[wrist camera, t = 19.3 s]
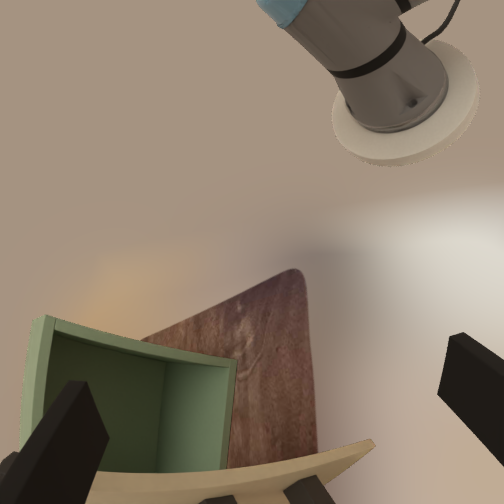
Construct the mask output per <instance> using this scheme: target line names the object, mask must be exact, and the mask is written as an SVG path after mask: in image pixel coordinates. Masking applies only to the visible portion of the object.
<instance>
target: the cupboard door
mask: <svg viewBox="0 0 504 504" xmlns="http://www.w3.org/2000/svg"><path fill="white" fill-rule="evenodd" d="M374 447H375V444H374V443H373V441H372V440H371V439H367V440H364V441H361V442H357V443H355V444H351V445H347V446H344V447H340V448H337V449H333V450H329V451H325V452H321V453H317V454H313V455H308V456H304V457H299V458H295V459H290V460H285V461H279V462H274V463H268V464H262V465H256V466H249V467H241V468H233V469H224V470H214V471H202V472H186V473H118V472H102V471H97V473H96V475H95V478H94V481H93V483H92V486H91V489H90V491H89V494H88V497H87V500H86V503H85V504H335V502H334V501H333V499H332V498H331V496H330V495H329V493H328V492H327V490H326V489H325V487H324V485H325V484H326V483H328V482H329V481H331V480H332V479H333V478H335V477H336V476H338V475H339V474H341V473H342V472H343V471H345V470H346V469H347V468H349V467H350V466H351V465H352V464H354V463H355V462H357V461H358V460H359V459H360V458H362V457H363V456H364V455H366V454H367V453H368V452H369V451H370V450H372V449H373V448H374Z"/></svg>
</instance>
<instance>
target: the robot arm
mask: <svg viewBox="0 0 504 504" xmlns="http://www.w3.org/2000/svg"><path fill="white" fill-rule="evenodd" d="M426 1H428V0H256V2H257V4H258V5H259V7H260V8H261V9H262V10H263V11H264V12H266V13H267V14H268V15H269V16H270V17H271V18H272V19H273V20H274V21H275V22H276V24H277V26H278V27H280V28H282V29H284V30H285V31H286V32H288V33H289V34H290V35H291V36H292V37H293V38H294V39H295V40H297V41H298V42H299V43H300V44H301V45H302V46H303V47H304V48H305V49H306V50H307V51H308V52H309V53H310V54H312V55H313V56H314V57H315V58H316V59H317V60H318V61H319V62H320V63H321V64H322V65H323V66H324V67H325V68H326V69H327V70H328V71H329V72H330V73H331V74H332V75H333V76H334V78H335V80H336V82H337V84H338V87H339V89H340V91H341V93H342V95H343V96H344V98H345V102H344V104H345V103H346V104H345V107H346V109H347V111H348V112H349V114H350V116H351V115H352V116H353V117H354V118H355V120H356V121H357V122H358V123H359V124H360V125H361V126H362V127H364V128H365V129H367V130H369V131H372V132H376V133H396V132H401V131H405V130H408V129H410V128H413V127H415V126H417V125H419V124H421V123H422V122H424V121H425V120H427V119H428V118H429V117H431V116H432V115H433V114H434V113H435V112H436V111H437V110H438V109H439V107H440V106H441V105H442V103H443V101H444V100H445V98H446V95H447V92H448V87H449V79H448V74H447V72H446V70H445V68H444V66H443V64H442V62H441V61H440V59H439V58H438V57H437V56H436V54H435V53H434V52H432V51H431V50H430V49H428V48H427V47H426V46H425V44H426V43H428V42H429V41H430V40H432V39H433V38H434V37H436V36H438V35H439V34H440V33H442V31H443V30H444V29H445V28H446V27H447V25H448V24H449V22H450V21H451V19H452V17H453V15H454V13H455V11H456V9H457V7H458V4H459V2H460V0H455V2H454V4H453V6H452V8H451V10H450V12H449V14H448V16H447V18H446V20H445V21H444V22H443V24H442V25H441V26H440V27H439V29H437V30H436V31H435V32H433V33H432V34H430V35H428V36H427V37H426V38H424V39H423V40H422V41H420V40H418V39H417V38H416V37H415V36H414V35H413V34H411V33H410V32H409V31H408V30H407V29H406V28H405V26H404V25H403V24H402V22H401V21H400V19H399V18H398V16H400V15H401V14H403V13H405V12H406V11H408V10H410V9H412V8H414V7H416V6H417V5H420V4H421V3H424V2H426ZM437 395H438V396H439V397H440V398H441V399H442V400H443V401H444V402H445V403H446V404H447V405H448V406H449V407H450V408H451V409H452V410H453V412H454V413H455V414H456V415H457V416H458V417H459V418H460V419H461V420H462V421H463V422H464V423H465V424H466V426H467V427H468V428H469V429H470V430H471V431H472V432H473V433H474V434H475V435H476V436H477V438H479V440H480V441H481V442H482V443H483V444H484V445H485V446H486V447H487V449H488V450H489V451H490V452H491V453H492V454H493V455H494V456H495V457H496V459H497V460H498V461H499V462H500V463H501V464H502V465H503V466H504V360H503V359H502V358H500V357H499V356H497V355H496V354H495V353H493V352H492V351H490V350H489V349H487V348H486V347H484V346H483V345H482V344H480V343H479V342H477V341H476V340H474V339H473V338H471V337H470V336H468V335H467V334H466V333H464V332H462V333H459V334H456V335H452V336H450V337H449V341H448V347H447V353H446V358H445V362H444V368H443V372H442V376H441V381H440V385H439V389H438V393H437ZM109 439H110V437H109V435H108V433H107V430H106V428H105V426H104V423H103V421H102V419H101V416H100V414H99V412H98V409H97V407H96V404H95V402H94V399H93V396H92V394H91V391H90V388H89V386H88V383H87V381H76V380H69V381H68V382H67V383H66V385H65V386H64V388H63V389H62V390H61V392H60V393H59V395H58V396H57V397H56V399H55V400H54V402H53V403H52V405H51V406H50V407H49V409H48V410H47V412H46V413H45V415H44V416H43V418H42V419H41V420H40V422H39V423H38V425H37V426H36V428H35V429H34V431H33V432H32V434H31V435H30V437H29V438H28V440H27V441H26V443H25V444H24V446H23V448H22V449H21V451H20V452H19V453H18V452H13V453H11V454H10V455H9V456H7V457H6V458H5V459H4V460H3V461H2V462H1V464H0V504H85V503H86V500H87V497H88V494H89V491H90V489H91V486H92V483H93V481H94V478H95V475H96V473H97V470H98V467H99V465H100V462H101V459H102V457H103V454H104V452H105V449H106V447H107V444H108V442H109Z"/></svg>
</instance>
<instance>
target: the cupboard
mask: <svg viewBox="0 0 504 504" xmlns="http://www.w3.org/2000/svg"><path fill="white" fill-rule="evenodd" d="M236 369H237V360H235V359H228V358H222V357H217V356H211V355H205V354H200V353H195V352H189V351H184V350H179V349H175V348H170V347H165V346H160V345H156V344H151V343H147V342H143V341H139V340H134V339H130V338H126V337H122V336H118V335H114V334H111V333H107V332H103V331H99V330H96V329H92V328H88V327H85V326H81V325H78V324H75V323H71V322H68V321H65V320H61V319H58V318H55V317H52V316H48V315H44V316H41V317H39V318H37V319H35V320H33V321H32V327H31V332H30V338H29V344H28V350H27V357H26V363H25V371H24V380H23V390H22V402H21V416H20V451H21V449H22V448H23V446H24V444H25V443H26V441H27V440H28V438H29V437H30V435H31V434H32V432H33V431H34V429H35V428H36V426H37V425H38V423H39V422H40V420H41V419H42V418H43V416H44V415H45V413H46V412H47V410H48V409H49V407H50V406H51V405H52V403H53V402H54V400H55V399H56V397H57V396H58V395H59V393H60V392H61V390H62V389H63V388H64V386H65V385H66V383H67V382H68V381H69V380H76V381H87V383H88V386H89V388H90V391H91V394H92V396H93V399H94V402H95V404H96V407H97V409H98V412H99V414H100V416H101V419H102V421H103V423H104V426H105V428H106V430H107V433H108V435H109V437H110V439H109V442H108V444H107V447H106V449H105V452H104V454H103V457H102V459H101V462H100V465H99V467H98V470H97V471H102V472H118V473H186V472H202V471H214V470H224V469H226V467H227V457H228V447H229V437H230V427H231V418H232V408H233V398H234V389H235V379H236Z"/></svg>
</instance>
